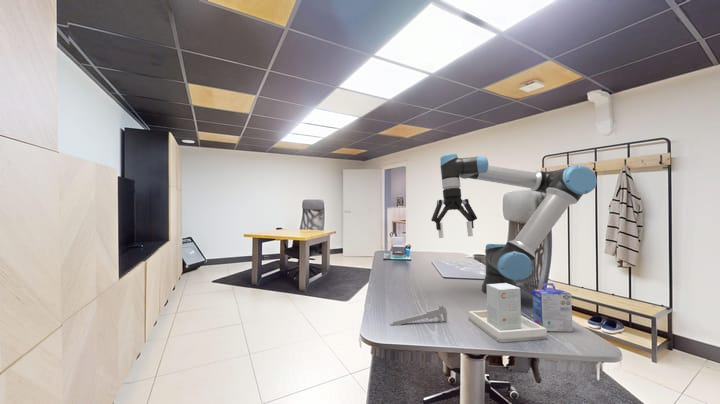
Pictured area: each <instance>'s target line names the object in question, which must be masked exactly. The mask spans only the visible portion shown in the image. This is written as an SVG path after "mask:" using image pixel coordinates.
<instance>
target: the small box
mask: <svg viewBox="0 0 720 404" xmlns="http://www.w3.org/2000/svg"><path fill="white" fill-rule="evenodd" d="M516 286H517V285H516ZM516 286H513V285H511V284H508V283H499V284H487V293H486V310H487V322H488V323H490V324H491V325H493V326H494V327H495V328H497V329H499V330H508V329H517V328H521V316H522V308H521V307H522V306H521V305H522V304H521V303H522V302H521V298H522V297H521V296H522V295H521V288H520V287H518V286H517V287H516Z"/></svg>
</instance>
